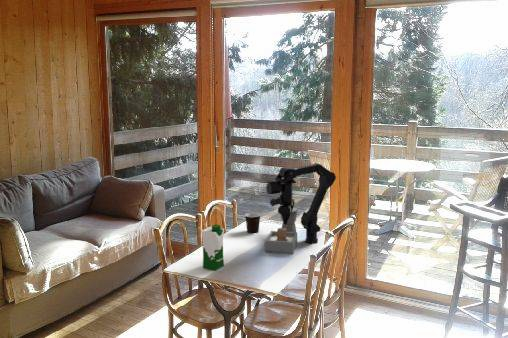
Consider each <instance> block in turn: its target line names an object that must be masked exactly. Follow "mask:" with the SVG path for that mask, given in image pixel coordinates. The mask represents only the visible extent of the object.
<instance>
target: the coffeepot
mask: <svg viewBox="0 0 508 338" xmlns="http://www.w3.org/2000/svg"><path fill="white" fill-rule="evenodd" d="M297 215H298V209H297V207H293V210H292V213H291V215H290V218H289V219H288V222H287V224H284V221H283V217H282V215H281V214H280V218H281V221H282V223H281V228H286V232H296V233H297V227H296V220H297Z"/></svg>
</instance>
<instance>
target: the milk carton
mask: <svg viewBox="0 0 508 338" xmlns="http://www.w3.org/2000/svg"><path fill="white" fill-rule="evenodd" d="M224 231H225V228H222V227H221V225H220V224H213V225H211V226H209V227H206V228H205V229H202V230H200V233H201V238H202V269H207V270H211V271H214V272H216V271H217V270H219V269H221V268H222V267H225V262H224V233H225V232H224Z"/></svg>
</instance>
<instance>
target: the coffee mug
mask: <svg viewBox="0 0 508 338" xmlns="http://www.w3.org/2000/svg"><path fill="white" fill-rule="evenodd" d="M244 217H245V224H246V225H245V227H246V232H248V233H247V234H250V233H251V234H253V235H255V234H254V233H256V234H258V233H259V231H260V223H261V214H260V213H257V212H248V213H245V214H244Z"/></svg>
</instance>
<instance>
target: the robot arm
mask: <svg viewBox="0 0 508 338" xmlns="http://www.w3.org/2000/svg"><path fill="white" fill-rule="evenodd" d="M314 173H315V174H317V175H318V176H319V178H318V187H317V190H316V192H315V195H314V197H313V198H312V201H311V203H310V207H309V208H308V210H307V211H306V212H305V211H303V213H302V216H301V217H300V225H302V227H303V229H304V230H305V232H306V233H305V240H304V243H305V244H306V243H307V244H318V241H319V238H318V233H319V232H320V231H321V227H320V226H319V225H318V220H319V219H318V213H319V210H321V209H320V208H321V206H322V203H323V201H324V199H325V196H326V194H327V192H328V190H329V188H331V187H332V185H334V183H335V181H336V180H337V179H336V178H337V177H336V174H335V172H332V171H330V170H329V169H327V168H326V167H324V166H323V164H320V163H317V162H315V163H312V164H307V165H301V166H296V167H291V166H284V167H281V168H280V170H279V172H278V173H277V175H276V177H275V178H274V180H268V181H267V185H266V186H265V187H266V188H265V190H266V193H267V195H269V196H270V195H276V194H280V195H278V196H276V197H275V196H274V197H272V198H270V200H269V204H270V205H271V207H274V206H277V205H279V206H278V209H277V213H278V214H280V216H281V215H282V217H283V221H284V224H287V222H288V219H289V218H290V215H291V213H292V210H293V208H295V207H294V206H295V204H296V200H295V199H294V198H293V196H294V193H293V184H297V181H296V180H295V179H296V178H297V177H299V176H303V175H308V174H314ZM283 221H282V222H283Z"/></svg>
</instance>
